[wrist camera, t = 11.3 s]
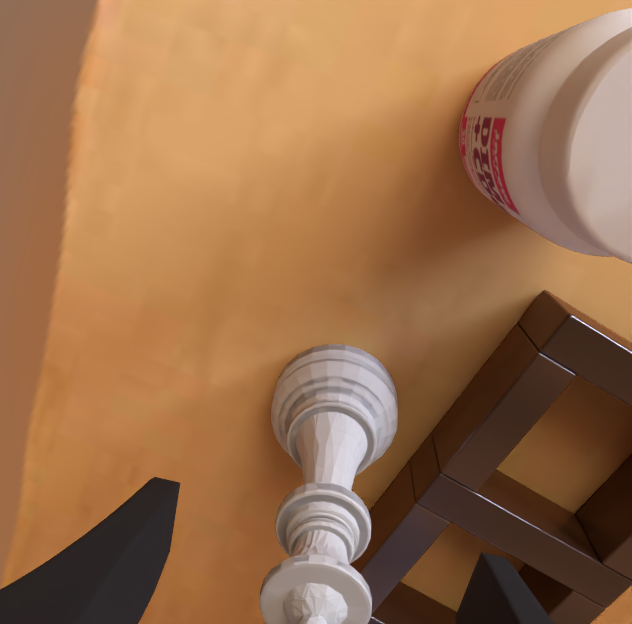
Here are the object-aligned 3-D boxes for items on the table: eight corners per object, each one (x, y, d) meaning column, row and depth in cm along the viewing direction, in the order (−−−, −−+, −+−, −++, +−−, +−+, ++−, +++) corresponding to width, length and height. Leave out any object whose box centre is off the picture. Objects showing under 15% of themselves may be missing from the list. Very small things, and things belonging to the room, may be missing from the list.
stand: (480, 655, 23) (493, 715, 21) (322, 571, 23) (317, 623, 20) (731, 404, 19) (783, 445, 16) (543, 288, 18) (570, 313, 16)
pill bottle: (422, 131, 17) (476, 142, 9) (554, 5, 15) (755, -117, 7) (522, 243, 18) (652, 345, 10) (655, 133, 16) (931, 147, 8)
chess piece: (268, 439, 21) (190, 705, 11) (283, 332, 19) (207, 535, 10) (384, 459, 21) (402, 745, 11) (408, 353, 19) (451, 579, 10)
